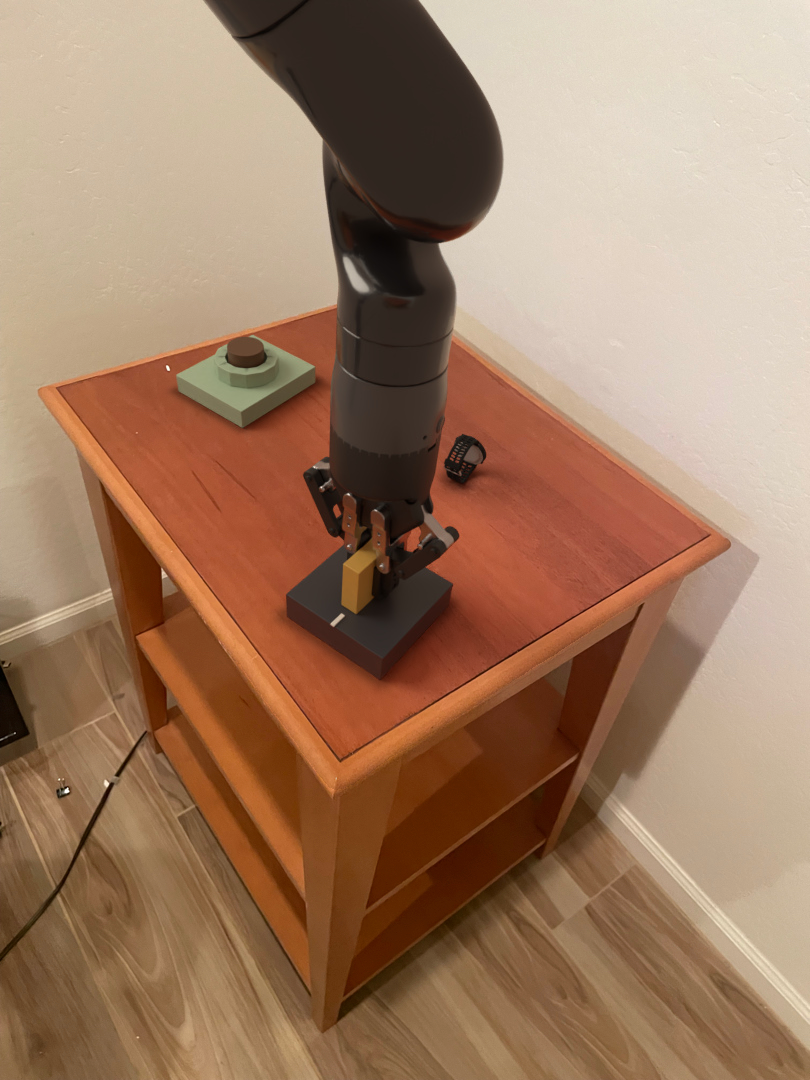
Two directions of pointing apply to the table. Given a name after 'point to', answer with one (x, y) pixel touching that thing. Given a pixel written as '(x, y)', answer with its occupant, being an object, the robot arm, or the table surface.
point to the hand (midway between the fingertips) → (371, 584)
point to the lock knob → (358, 578)
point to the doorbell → (246, 383)
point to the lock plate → (367, 614)
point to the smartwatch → (464, 458)
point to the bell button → (245, 352)
